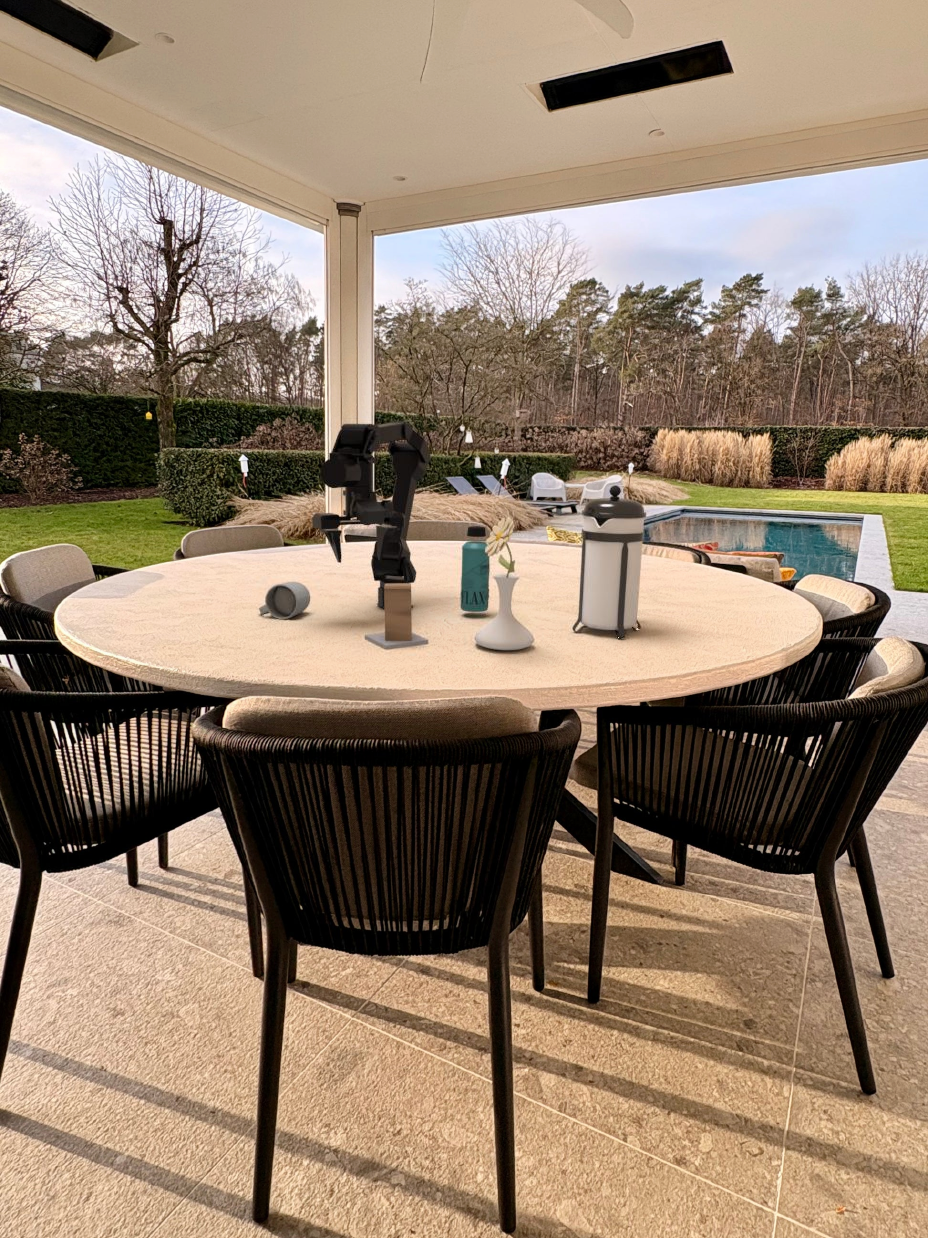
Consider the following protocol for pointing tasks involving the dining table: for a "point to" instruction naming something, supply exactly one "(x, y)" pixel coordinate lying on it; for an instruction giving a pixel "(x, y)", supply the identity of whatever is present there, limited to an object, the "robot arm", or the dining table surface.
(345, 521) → the robot arm
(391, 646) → the upper grey slab
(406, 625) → the walnut post
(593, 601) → the coffee press
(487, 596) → the beverage bottle
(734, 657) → the dining table surface
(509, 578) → the flower in vase
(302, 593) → the ceramic mug
